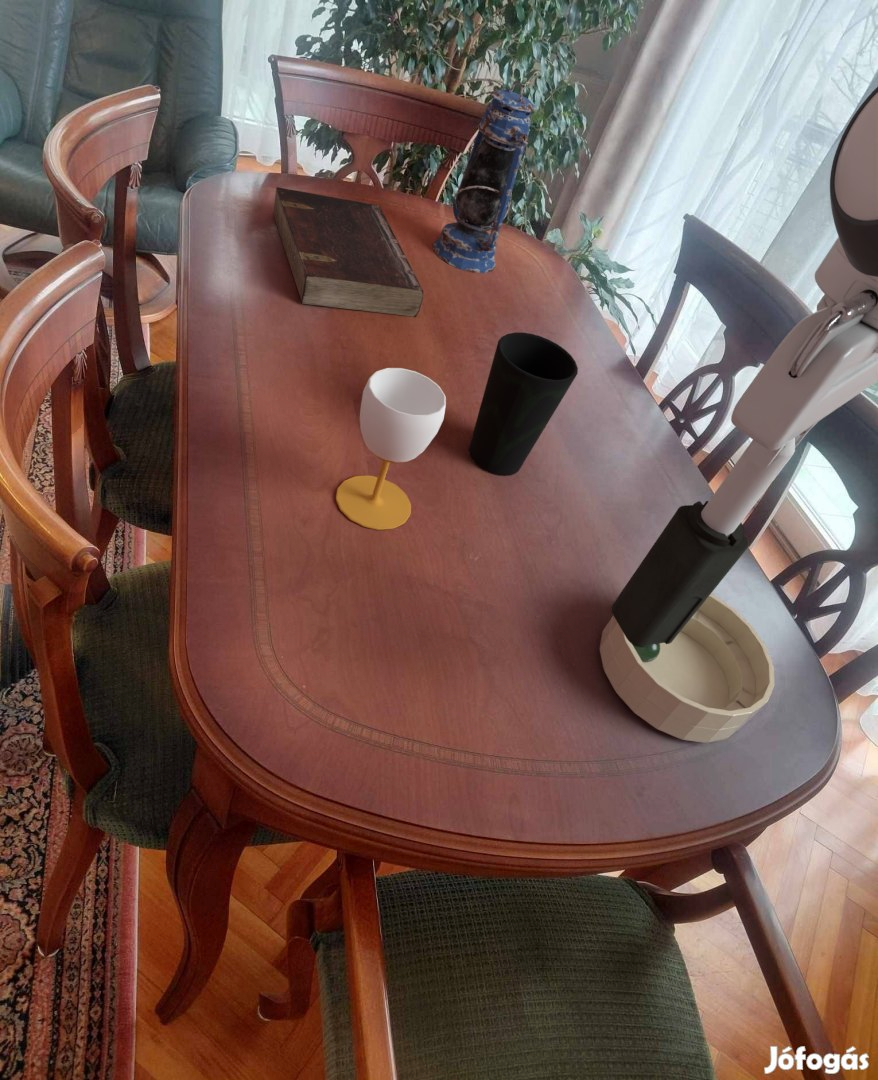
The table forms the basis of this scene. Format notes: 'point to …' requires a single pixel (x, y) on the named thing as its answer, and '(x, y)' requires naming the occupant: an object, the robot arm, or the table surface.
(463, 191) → the lantern
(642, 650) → the bead
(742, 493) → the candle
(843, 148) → the robot arm
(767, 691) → the bowl
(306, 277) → the hardback book
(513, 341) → the cup
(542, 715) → the table surface
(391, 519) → the cup
